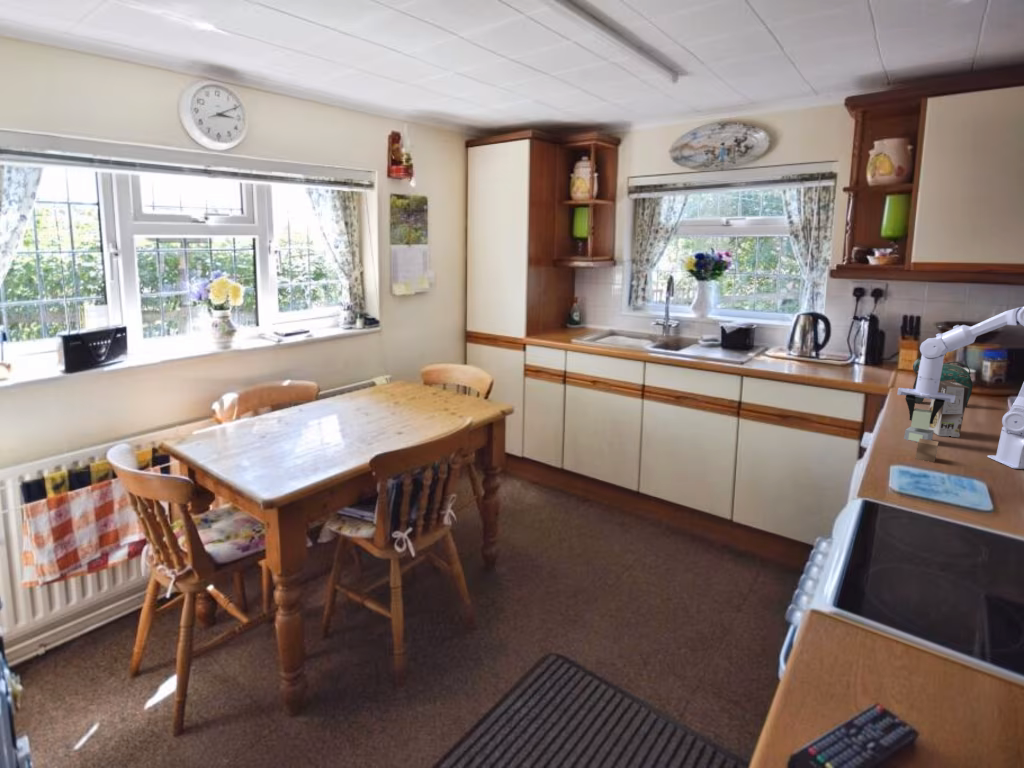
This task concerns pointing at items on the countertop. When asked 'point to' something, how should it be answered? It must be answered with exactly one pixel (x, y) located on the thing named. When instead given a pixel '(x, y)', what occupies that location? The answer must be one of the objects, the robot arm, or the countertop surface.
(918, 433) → the base block
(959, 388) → the coffee box
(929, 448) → the walnut block
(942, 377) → the ceramic cat
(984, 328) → the robot arm
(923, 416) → the sage block
